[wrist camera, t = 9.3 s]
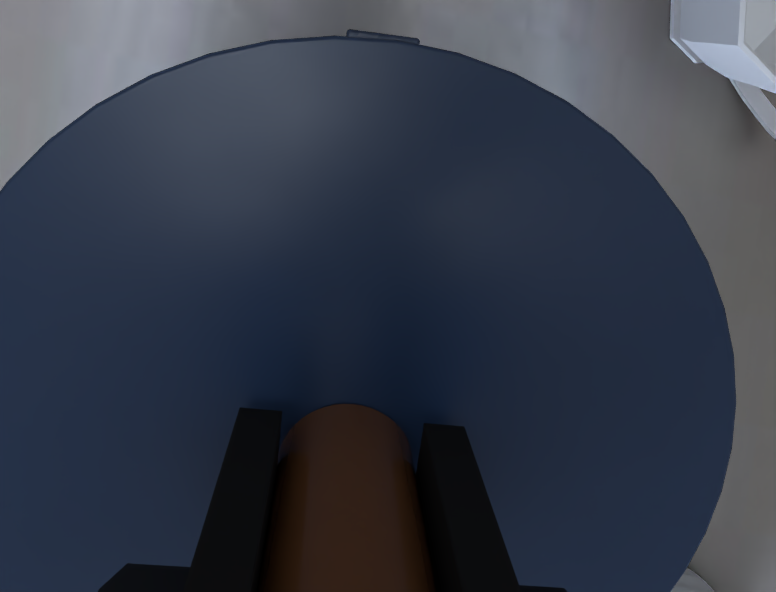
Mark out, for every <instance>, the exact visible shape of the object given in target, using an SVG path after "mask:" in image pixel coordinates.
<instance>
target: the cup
mask: <svg viewBox="0 0 776 592" xmlns="http://www.w3.org/2000/svg"><path fill="white" fill-rule="evenodd" d="M670 39H671V40H672V41H673V42H674V43H675V44H676V45H677V46H678V47H679V48H680V49H681V50H682V51H683V52H684V53H685V54H686V55H687V56H688V57H689V58H690V59H691V60H692V61H693V62H694V63H703V62H704V63H705V64H706V65H707V66H709V67H710V68H712V69H714V70H715V71H717V72H718V73H720V74H722V75H723V76H725V77H727V78H729V79H730V81H731V83H732V84H733V86H734V87H735V89H736V91H737V92H738V94H739V96H740V97H741V98H742V100H743V101H744V103H745V104H746V105H747V107H748V108H749V109H750V111H751V112H752V113H753V115H754V116H755V117H756V118H757V120H758V121H759V122H760V124H761V125H762V126H763V127H764V129H765V130H766V131H767V132H768V133H769V134H770V135H771V136H772V137H773V138H774V139H775V140H776V109H775V108H774V106H773V105H772V104H771V103H770V101H769V100H768V99H767V97H766V96H765V95H764V94H763V92H762V91H761V90H760V88H761V89H764V90H767V91H770V92H773V93H776V0H671V11H670Z"/></svg>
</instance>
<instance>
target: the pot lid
mask: <svg viewBox="0 0 776 592" xmlns="http://www.w3.org/2000/svg"><path fill="white" fill-rule="evenodd" d="M240 407H241V408H253V409H265V410H277V411H282V420H281V431H280V442H279V453H278V464H277V471H276V477H275V483H274V489H273V495H272V501H271V507H270V513H269V519H268V525H267V531H266V537H265V543H264V549H263V555H262V561H261V567H260V573H259V579H258V585H257V591H256V592H437V589H436V584H435V578H434V573H433V567H432V562H431V556H430V551H429V545H428V540H427V534H426V529H425V524H424V518H423V513H422V507H421V502H420V496H419V491H418V485H417V480H416V470H417V464H418V457H419V451H420V445H421V438H422V432H423V426H424V423H430V424H442V425H454V426H464V427H465V430H466V433H467V436H468V438H469V441H470V444H471V447H472V450H473V453H474V456H475V459H476V462H477V464H478V467H479V470H480V473H481V476H482V479H483V482H484V485H485V488H486V490H487V493H488V496H489V499H490V502H491V505H492V508H493V511H494V514H495V517H496V519H497V522H498V525H499V528H500V531H501V534H502V537H503V540H504V543H505V545H506V548H507V551H508V554H509V557H510V560H511V563H512V566H513V569H514V572H515V574H516V577H517V580H518V583H519V585H526V586H541V587H557V588H565V590H566V591H567V592H671V590H672V589H673V588H674V586H675V585H676V583H677V582H678V581H679V579H680V578H681V576H682V575H683V574H684V572H685V570H686V569H687V567H688V565H689V563H690V561H691V559H692V557H693V556H694V554H695V552H696V550H697V548H698V546H699V544H700V543H701V541H702V539H703V537H704V535H705V533H706V531H707V528H708V526H709V523H710V520H711V518H712V515H713V512H714V510H715V507H716V505H717V502H718V499H719V497H720V494H721V492H722V487H723V483H724V479H725V475H726V471H727V466H728V462H729V458H730V454H731V449H732V441H733V431H734V420H735V410H736V388H735V368H734V354H733V348H732V343H731V338H730V333H729V328H728V323H727V318H726V313H725V308H724V305H723V302H722V300H721V297H720V294H719V291H718V288H717V286H716V283H715V280H714V277H713V274H712V272H711V269H710V266H709V263H708V261H707V259H706V257H705V255H704V253H703V251H702V249H701V248H700V246H699V244H698V242H697V240H696V238H695V236H694V235H693V233H692V231H691V229H690V227H689V225H688V223H687V222H686V220H685V218H684V216H683V215H682V213H681V212H680V211H679V209H678V208H677V207H676V205H675V204H674V203H673V201H672V200H671V199H670V197H669V196H668V195H667V193H666V192H665V191H664V189H663V188H662V187H661V185H660V184H659V183H658V181H657V180H656V179H655V177H654V176H653V175H652V173H651V172H650V171H649V170H648V169H647V168H646V167H645V166H644V165H643V164H642V163H641V162H640V161H639V160H638V159H637V158H636V157H635V156H634V155H633V154H632V153H631V152H630V151H629V150H627V149H626V148H625V147H624V146H623V145H622V144H621V143H620V142H619V141H618V140H617V139H616V138H615V137H614V136H613V135H612V134H611V133H609V132H608V131H607V130H605V129H604V128H603V127H601V126H600V125H599V124H597V123H596V122H595V121H593V120H592V119H590V118H589V117H588V116H586V115H585V114H584V113H582V112H581V111H580V110H578V109H577V108H576V107H574V106H573V105H571V104H570V103H569V102H567V101H566V100H564V99H562V98H560V97H558V96H556V95H554V94H553V93H551V92H549V91H547V90H545V89H543V88H541V87H539V86H538V85H536V84H534V83H532V82H530V81H528V80H526V79H524V78H523V77H521V76H519V75H517V74H515V73H512V72H510V71H507V70H504V69H501V68H499V67H496V66H493V65H490V64H488V63H485V62H482V61H479V60H477V59H474V58H471V57H468V56H466V55H463V54H460V53H457V52H452V51H447V50H443V49H438V48H433V47H428V46H424V45H419V44H414V43H409V42H405V41H400V40H391V39H376V38H361V37H347V36H323V37H309V38H294V39H280V40H270V41H265V42H260V43H256V44H251V45H246V46H241V47H237V48H232V49H227V50H223V51H218V52H213V53H209V54H206V55H204V56H201V57H198V58H195V59H193V60H190V61H187V62H184V63H182V64H179V65H176V66H174V67H171V68H168V69H165V70H163V71H160V72H157V73H155V74H152V75H149V76H148V77H146V78H144V79H142V80H140V81H138V82H137V83H135V84H133V85H131V86H129V87H127V88H125V89H124V90H122V91H120V92H118V93H116V94H114V95H113V96H111V97H109V98H107V99H105V100H103V101H101V102H100V103H98V104H96V105H95V106H93V107H92V108H91V109H89V110H88V111H87V112H85V113H84V114H83V115H81V116H80V117H79V118H77V119H76V120H75V121H73V122H72V123H71V124H69V125H68V126H67V127H65V128H64V129H63V130H61V131H60V132H59V133H57V134H56V135H55V136H53V137H52V138H51V139H49V140H48V141H47V142H46V143H45V144H44V145H43V146H42V147H41V148H40V149H39V150H38V151H37V152H36V153H35V154H34V155H33V156H32V157H31V158H30V159H29V160H28V161H27V162H26V163H25V164H24V165H23V166H22V167H21V168H20V169H19V170H18V171H17V172H16V173H15V174H14V175H13V176H12V177H11V178H10V179H9V180H8V182H7V183H6V184H5V185H4V187H3V188H2V190H1V191H0V592H98V590H99V589H100V588H101V587H102V586H103V585H104V584H105V583H106V582H107V581H108V580H110V579H111V578H112V577H113V576H114V575H115V574H116V573H117V572H118V571H119V570H120V569H122V568H123V567H124V566H125V565H126V564H127V563H132V564H149V565H165V566H181V567H191V563H192V560H193V557H194V554H195V550H196V547H197V544H198V541H199V538H200V534H201V531H202V528H203V525H204V521H205V518H206V515H207V512H208V508H209V505H210V502H211V499H212V495H213V492H214V489H215V486H216V483H217V479H218V476H219V473H220V470H221V466H222V463H223V460H224V457H225V453H226V450H227V447H228V444H229V440H230V437H231V434H232V431H233V427H234V424H235V421H236V418H237V415H238V411H239V408H240Z"/></svg>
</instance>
